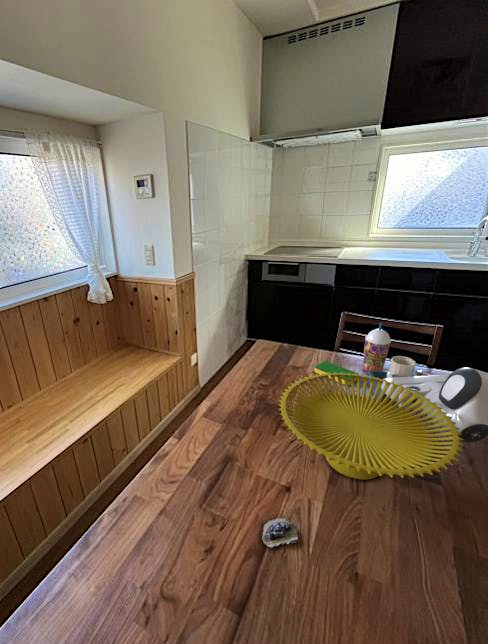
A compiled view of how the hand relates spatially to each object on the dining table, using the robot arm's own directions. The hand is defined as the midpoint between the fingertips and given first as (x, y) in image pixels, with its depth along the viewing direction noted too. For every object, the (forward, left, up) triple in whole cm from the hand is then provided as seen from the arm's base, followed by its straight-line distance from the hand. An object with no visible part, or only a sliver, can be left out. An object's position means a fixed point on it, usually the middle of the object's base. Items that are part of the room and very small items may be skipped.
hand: (403, 373), depth 109 cm
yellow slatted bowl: (+22, +31, -9) cm, 39 cm away
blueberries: (+43, +55, -9) cm, 70 cm away
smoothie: (+3, -16, -9) cm, 19 cm away
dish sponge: (+17, -12, -9) cm, 23 cm away
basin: (0, -1, -9) cm, 9 cm away
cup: (0, -1, -8) cm, 8 cm away
